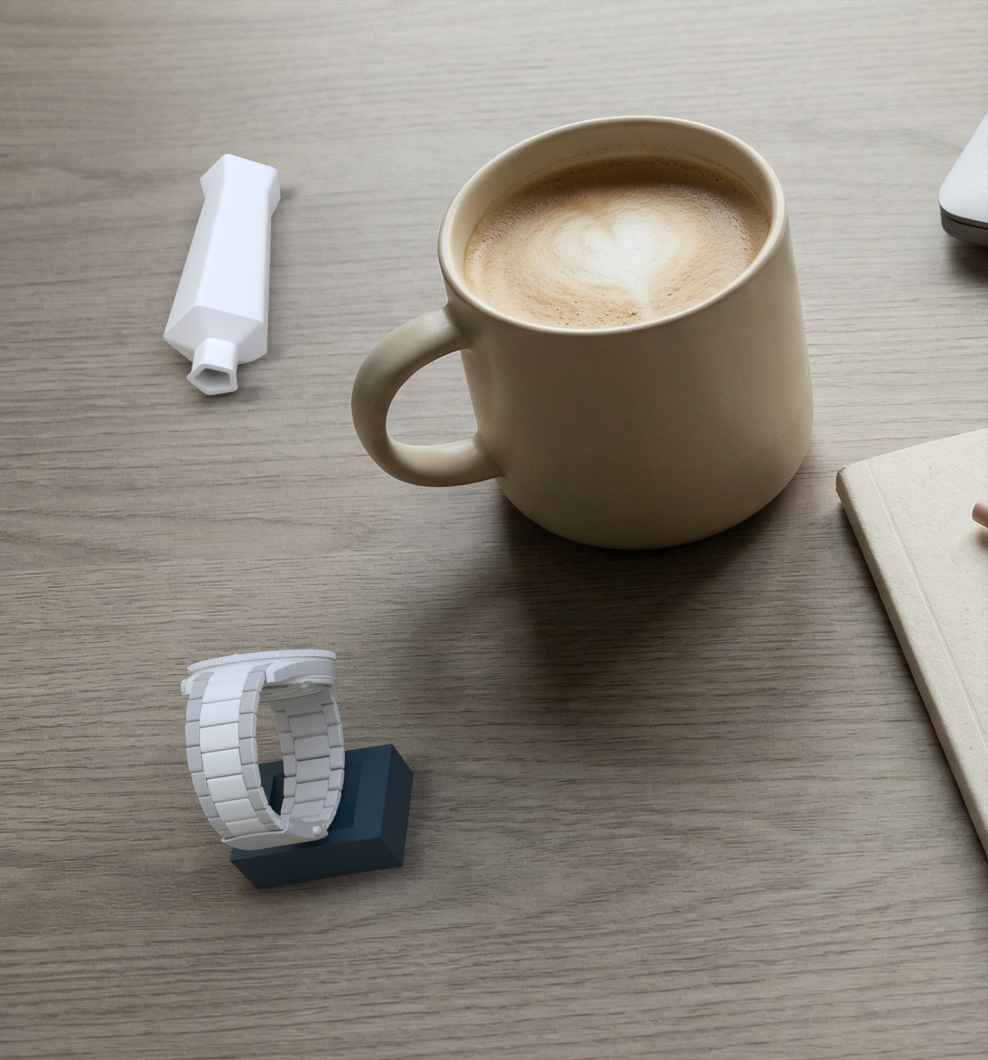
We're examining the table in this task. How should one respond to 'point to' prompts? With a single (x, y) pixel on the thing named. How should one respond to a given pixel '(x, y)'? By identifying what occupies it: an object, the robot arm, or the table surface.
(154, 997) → the table surface
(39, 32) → the table surface
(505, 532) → the table surface
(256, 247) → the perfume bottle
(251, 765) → the watch
